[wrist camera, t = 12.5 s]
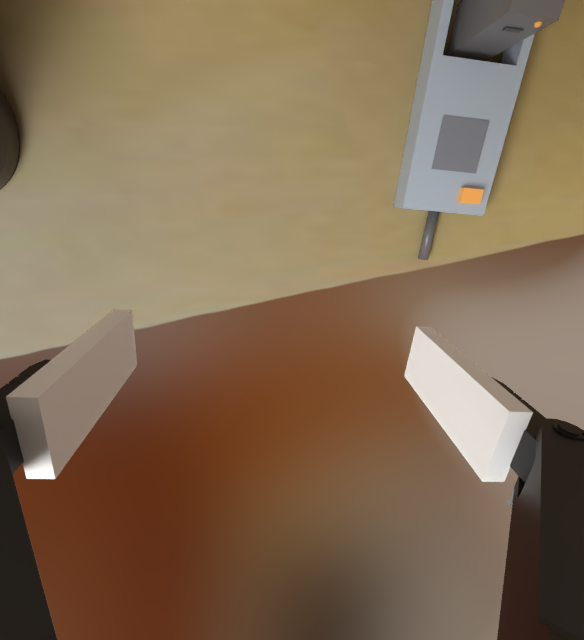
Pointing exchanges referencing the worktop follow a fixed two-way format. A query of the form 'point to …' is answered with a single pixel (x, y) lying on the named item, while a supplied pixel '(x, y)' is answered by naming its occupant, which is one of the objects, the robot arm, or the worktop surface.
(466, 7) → the brick
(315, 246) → the worktop surface
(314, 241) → the worktop surface
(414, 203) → the power strip
